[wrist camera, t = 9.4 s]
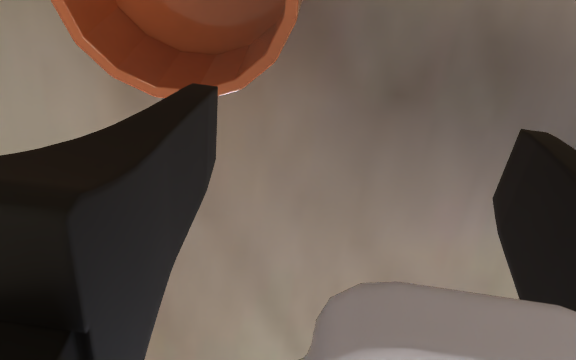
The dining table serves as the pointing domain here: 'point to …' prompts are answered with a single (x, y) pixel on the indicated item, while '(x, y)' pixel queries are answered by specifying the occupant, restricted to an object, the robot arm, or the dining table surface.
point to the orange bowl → (181, 39)
